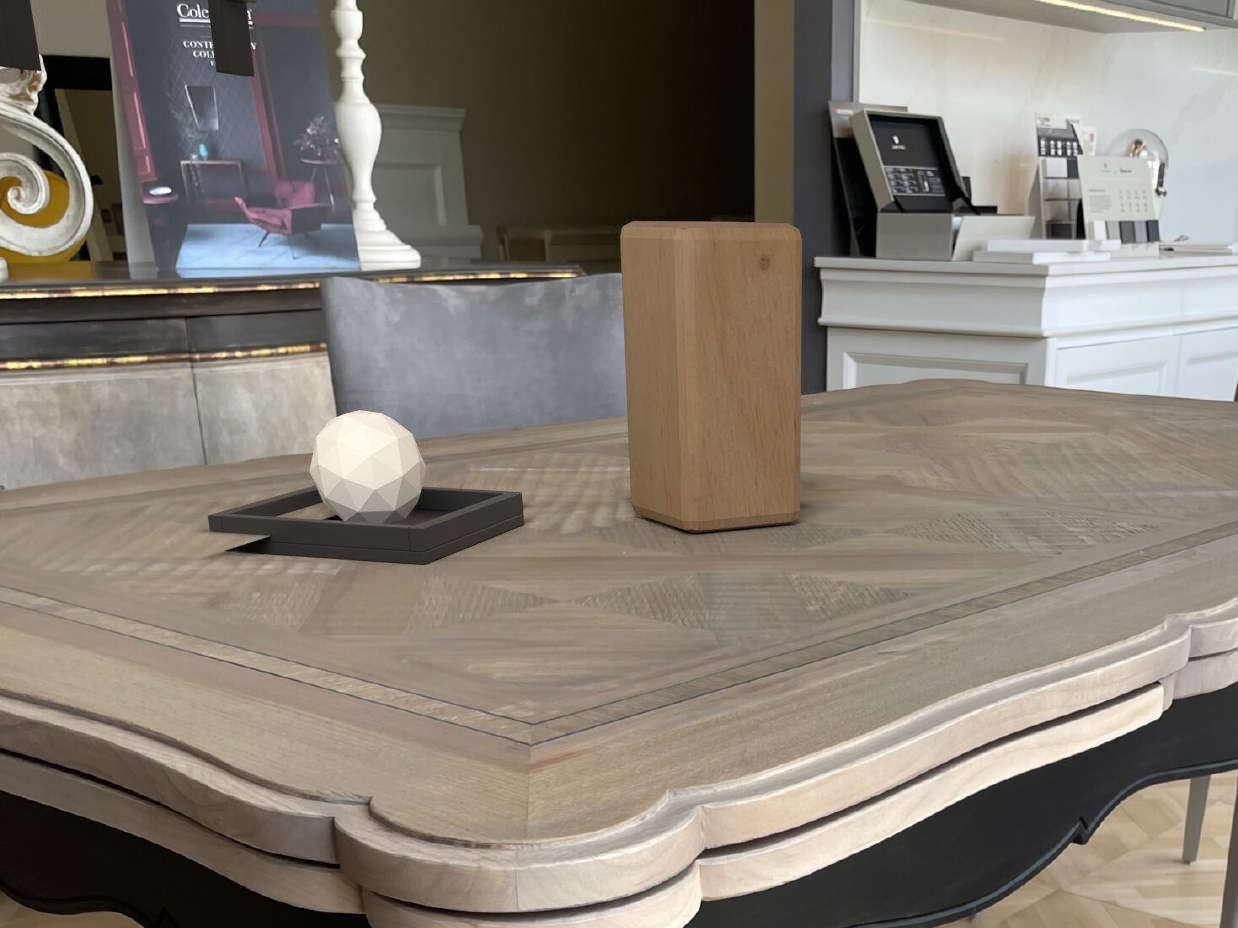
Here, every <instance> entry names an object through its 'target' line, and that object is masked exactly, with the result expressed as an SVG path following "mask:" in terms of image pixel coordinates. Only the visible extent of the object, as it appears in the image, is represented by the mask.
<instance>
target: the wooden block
mask: <svg viewBox="0 0 1238 928" xmlns="http://www.w3.org/2000/svg"><path fill="white" fill-rule="evenodd" d="M619 245H620V267H621V268H620V271H621V289H622V290H621V291H622V316H623V339H624V341H623V342H624V359H625V360H624V363H625V364H624V366H625V386H626V388H625V389H626V413H627V431H628V432H627V435H628V437H627V438H628V459H629V460H628V463H629V483H630V486H629V487H630V504H631V506H632V510H633V512H634V513H635V514H636V515H638V516H641V517H643V518H646V519H649V520H653V521H655V522H659V523H661V524H664V525H668V526H671V527H674V528H677V529H680V530H682V531H685V532H689V533H691V534H700V533H709V532H719V531H720V532H722V531H731V530H732V531H733V530H739V529H740V530H742V529H752V528H761V527H772V526H781V525H788V524H789V523H792V522H794V521H796V520H798V518H799V516H800V512H801V443H802V441H801V434H802V433H801V432H802V431H801V429H802V427H801V425H802V424H801V423H802V422H801V420H802V311H803V309H802V304H803V303H802V301H803V300H802V299H803V298H802V297H803V295H802V293H803V292H802V291H803V290H802V288H803V286H802V285H803V238H802V235H801V231H800V229H799V228H797V227H795V226H794V225H792V224H790V223H788V222H757V221H756V222H754V221H752V222H750V221H749V222H748V221H681V220H680V221H676V220H675V221H672V220H670V221H669V220H667V221H665V220H664V221H663V220H661V221H659V220H655V221H654V220H644V221H643V220H633V221H630V222H628V223H627V224H625V225H623V226H622V227H621V231H620V236H619Z"/></svg>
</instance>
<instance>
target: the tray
mask: <svg viewBox="0 0 1238 928" xmlns="http://www.w3.org/2000/svg"><path fill="white" fill-rule="evenodd" d="M523 501H524V499H523V492H522V491H509V490H494V489H493V490H491V489H474V488H455V487H440V486H439V487H438V486H422V489H421V493H420V497H419V500H418V502H417V504H416V505H415V506H414V508H413V509H412V511H411V512H410V513H409V515H408V516H407V518H406V519H403V520H400V521H397V522H395V523H392V524H384V523H368V522H352V521H344V520H343V519H341V518H340V517H339V516H338V515H336V514H335V515H332V516H329V517H326V518H321V519H317V518H302V517H283V515H286V514H289V513H292V512H295V511H298V510H299V511H300V510H303V509H305V508H309V507H312V506H315V505H319V504H323V503H324V502H323V500H322V498H321V496H320V494H319V491H318V489H317V487H316V485H315V484H314V485H312V486H307V487H305V488H301V489H297V490H294V491H290V492H287V493H283V494H279V495H276V496H271V497H268V498H265V499H262V500H258V501H254V502H250V503H247V504H244V505H240V506H236V507H233V508H228V509H225V510H222V511H219V512H215V513H211V514H207V523H208V528H209V532H210V533H224V534H225V533H226V534H239V535H240V534H242V535H256V536H266V537H263V538H259V539H257V540H253V541H249V542H246V543H243V544H241V545H237V546H235V547H231V548H228V549H225V550H224V552H231V553H232V552H234V553H247V554H248V553H249V554H250V553H251V554H261V555H263V554H264V555H278V556H292V557H306V558H307V557H309V558H320V559H321V558H325V559H337V560H352V561H366V562H367V561H368V562H381V563H382V562H383V563H397V564H412V565H427V564H430V563H432V562H435V561H437V560H439V559H441V558H444V557H447V556H450V555H452V554H454V553H457V552H460V551H461V550H464V549H467V548H469V547H471V546H474V545H476V544H478V543H481V542H484V541H486V540H489V539H491V538H493V537H496V536H499V535H501V534H503V533H506V532H509V531H510V530H514V529H515V528H518V527H522V526H524V525H525V514H524V502H523Z"/></svg>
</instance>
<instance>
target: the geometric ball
mask: <svg viewBox="0 0 1238 928" xmlns="http://www.w3.org/2000/svg"><path fill="white" fill-rule="evenodd" d="M426 471H427V466H426V464H425V461H424V459H423V456H422V454H421V452H420V449H419V447H418V444H417V441H416V439H415V437H414V434H413V432H410V430H408V429H407V428H405V426H403V425H401V423H399V422H397V421H396V420H395V419H394V418H393V417H390V416H388V415H387V414H384V413H381V412H376V411H368V410H362V409H359V410H355V411H351V412H347V413H343V414H341V415H338V416H336V417H334V418H331V419H329V420H328V421H327V423H326V424H325V425H324V426H323V428H322V429H321V430H320V431H319V433H317V435H316V437H315V442H314V446H313V453H312V457H311V461H310V467H309V474H310V476H311V478H312V481H313V483H314V486H315V485H316V487H317V489H318V491H319V494H320V496H321V498H322V500H323V502H322V503H323V504H324V506H325V507H326V508H328V510H330V511H331V512H333V513H334V514H335V515H338V516H339V517H340V518H341V519H343V520H344V521H352V522H368V523H384V524H392V523H395V522H397V521H400V520H403V519H406V518H407V516H408V515H409V513H410V512H411V511H412V509H413V508H414V506H415V505H416V504H417V502H418V500H419V497H420V493H421V489H422V487H423V484H424V480H425V475H426Z"/></svg>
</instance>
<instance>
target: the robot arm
mask: <svg viewBox="0 0 1238 928" xmlns="http://www.w3.org/2000/svg"><path fill="white" fill-rule="evenodd" d="M257 2H258V0H207V7H208V16H209V23H210V25H209V26H210V31H211V33H210V34H211V41H212V48H213V49H212V50H213V57H214V58H213V59H214V65H215V72H216V73H219V74H226V75H232V76H237V77H238V76H239V77H252V78H254V77H255V69H254V60H253V50H252V40H251V32H250V23H249V14H248V13H249V12H248V4H253V5H254V4H255V5H256V4H257ZM0 68H8V69H16V70H23V71H28V72H29V71H30V72H32V71H33V72H42V71H43V69H42V63H41V57H40V53H39V45H38V40H37V34H36V28H35V21H34V15H33V9H32V4H31V0H0Z"/></svg>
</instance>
